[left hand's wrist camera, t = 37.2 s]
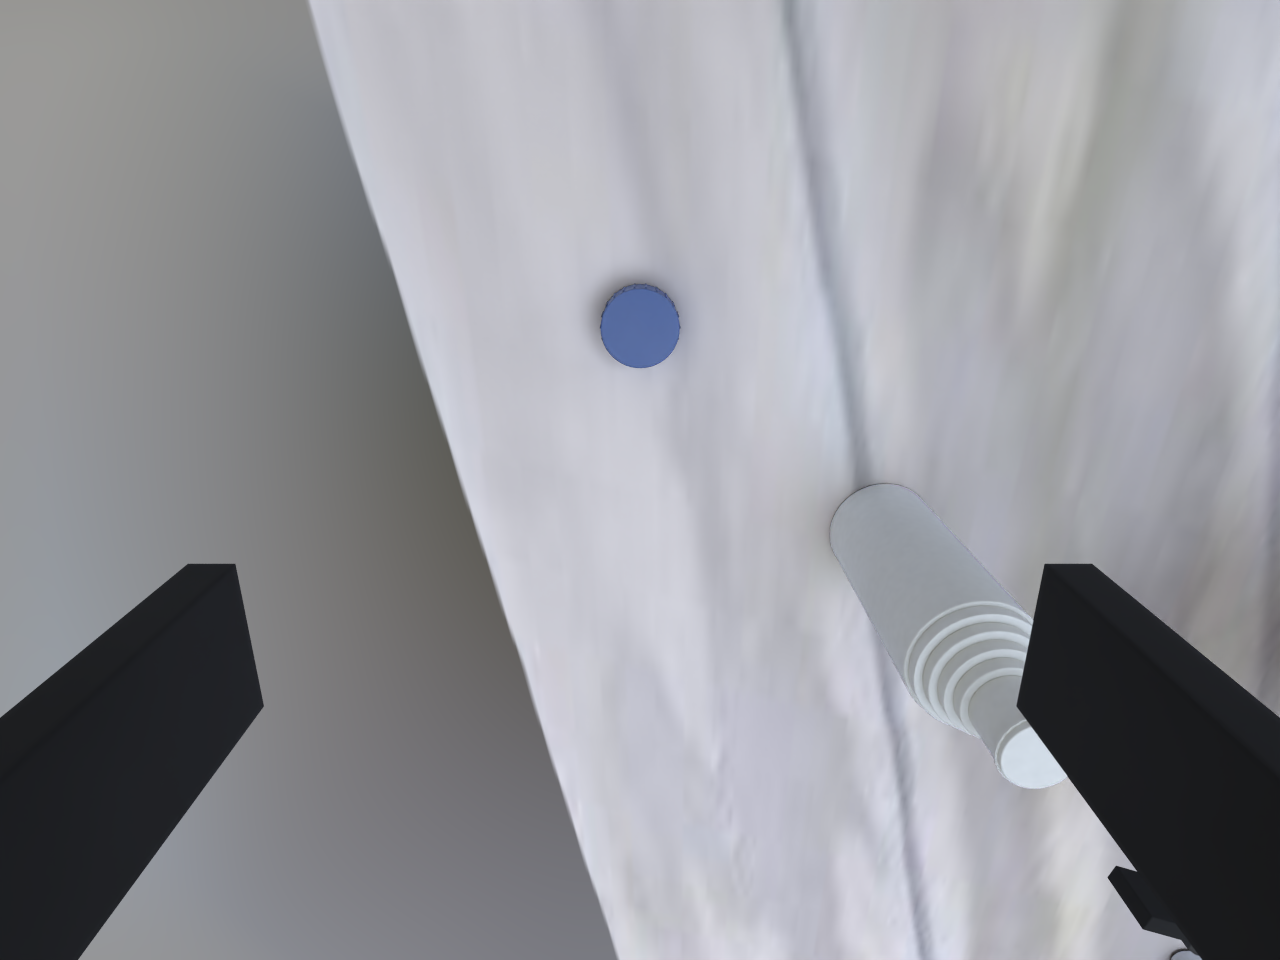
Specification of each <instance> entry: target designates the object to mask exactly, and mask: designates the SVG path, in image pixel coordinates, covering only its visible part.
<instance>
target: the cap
mask: <svg viewBox="0 0 1280 960" xmlns="http://www.w3.org/2000/svg"><path fill="white" fill-rule="evenodd" d="M601 317H602V321H601V325H600V328H601V336H602V340H603V343H604V345H605V347H606V349H607V350H608V352H609V353H610V354H611V355H612V357H613V358H615V359H616V360H617V361H619V362H620V363H622V364H624V365H626V366H630V367H634V368H646V367H651V366H654V365H656V364H658V363H660V362H662V361H663V360H665V359H666V358H667V357H668V356H669V355H670V354H671V352H672V351H673V350H674V348H675V346H676V344H677V341H678V339H679V338H678V337H679V330H680V325H679V319H678V317H679V315H678V312H676V309H675V306H674V303H673V301H671V300H670V298H669V297H668V296H667V294H666V293H664V292H662V291H661V290H659V289H657V287H656V288H655V287H653V286H650V285H647V284H636V285H635V284H634V285H631V286H628V287H623V289H621V290H620V291H618V292H617V293H614V295H613V296H612V298H611V299H610V300H609V302H608V301H607V304H606V308H605V310H604V311H603V313H602V316H601Z"/></svg>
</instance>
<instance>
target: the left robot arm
mask: <svg viewBox="0 0 1280 960" xmlns="http://www.w3.org/2000/svg"><path fill="white" fill-rule="evenodd" d="M263 707H264V705H263V700H262V695H261V690H260V685H259V680H258V675H257V670H256V665H255V660H254V655H253V650H252V645H251V640H250V635H249V630H248V625H247V620H246V615H245V610H244V605H243V600H242V595H241V590H240V585H239V580H238V575H237V570H236V565H235V564H187V565H186V566H185V567H184V568H182V569H181V570H180V571H179V572H178V573H176V574H175V575H174V576H173V577H171V578H170V579H169V580H168V581H167V582H165V583H164V584H163V585H162V586H161V587H159V588H158V589H157V590H156V591H154V592H153V593H152V594H151V595H150V596H148V597H147V598H146V599H145V600H143V601H142V602H141V603H140V604H139V605H137V606H136V607H135V608H134V609H132V610H131V611H130V612H129V613H128V614H126V615H125V616H124V617H123V618H121V619H120V620H119V621H118V622H117V623H115V624H114V625H113V626H112V627H110V628H109V629H108V630H107V631H106V632H104V633H103V634H102V635H101V636H99V637H98V638H97V639H96V640H95V641H93V642H92V643H91V644H90V645H89V646H87V647H86V648H85V649H84V650H82V651H81V652H80V653H79V654H78V655H76V656H75V657H74V658H73V659H71V660H70V661H69V662H68V663H67V664H65V665H64V666H63V667H62V668H60V669H59V670H58V671H57V672H56V673H54V674H53V675H52V676H51V677H50V678H48V679H47V680H46V681H45V682H43V683H42V684H41V685H40V686H39V687H37V688H36V689H35V690H34V691H32V692H31V693H30V694H29V695H28V696H26V697H25V698H24V699H23V700H21V701H20V702H19V703H18V704H17V705H15V706H14V707H13V708H12V709H11V710H9V711H8V712H7V713H6V714H4V715H3V716H2V717H1V718H0V960H78V959H79V958H80V956H81V955H82V953H83V952H84V951H85V949H86V948H87V947H88V945H89V944H90V942H91V941H92V940H93V938H94V937H95V936H96V934H97V933H98V932H99V930H100V929H101V927H102V926H103V925H104V923H105V922H106V921H107V919H108V918H109V917H110V915H111V914H112V913H113V911H114V910H115V908H116V907H117V906H118V904H119V903H120V902H121V900H122V899H123V897H124V896H125V895H126V893H127V892H128V891H129V889H130V888H131V887H132V885H133V884H134V883H135V881H136V880H137V878H138V877H139V876H140V874H141V873H142V872H143V870H144V869H145V867H146V866H147V865H148V863H149V862H150V861H151V859H152V858H153V857H154V855H155V854H156V853H157V851H158V850H159V848H160V847H161V846H162V844H163V843H164V842H165V840H166V839H167V838H168V836H169V835H170V833H171V832H172V831H173V829H174V828H175V827H176V825H177V824H178V823H179V821H180V820H181V818H182V817H183V816H184V814H185V813H186V812H187V810H188V809H189V808H190V806H191V805H192V803H193V802H194V801H195V799H196V798H197V797H198V795H199V794H200V792H201V791H202V790H203V788H204V787H205V786H206V784H207V783H208V782H209V780H210V779H211V778H212V776H213V775H214V773H215V772H216V771H217V769H218V768H219V767H220V765H221V764H222V763H223V761H224V760H225V758H226V757H227V756H228V754H229V753H230V752H231V750H232V749H233V748H234V746H235V745H236V743H237V742H238V741H239V739H240V738H241V737H242V735H243V734H244V733H245V731H246V730H247V728H248V727H249V726H250V724H251V723H252V722H253V720H254V719H255V718H256V716H257V715H258V713H259V712H260V711H261V709H262V708H263ZM1016 707H1017V708H1018V709H1019V711H1020V712H1021V713H1022V715H1023V716H1024V718H1025V719H1026V720H1027V722H1028V723H1029V724H1030V726H1031V727H1032V728H1033V730H1034V731H1035V733H1036V734H1037V735H1038V737H1039V738H1040V739H1041V741H1042V742H1043V743H1044V745H1045V746H1046V748H1047V749H1048V750H1049V752H1050V753H1051V754H1052V756H1053V757H1054V758H1055V760H1056V761H1057V763H1058V764H1059V765H1060V767H1061V768H1062V769H1063V771H1064V772H1065V773H1066V775H1067V776H1068V778H1069V779H1070V780H1071V782H1072V783H1073V784H1074V786H1075V787H1076V788H1077V790H1078V791H1079V793H1080V794H1081V795H1082V797H1083V798H1084V799H1085V801H1086V802H1087V803H1088V805H1089V806H1090V808H1091V809H1092V810H1093V812H1094V813H1095V814H1096V816H1097V817H1098V818H1099V820H1100V821H1101V823H1102V824H1103V825H1104V827H1105V828H1106V829H1107V831H1108V832H1109V833H1110V835H1111V836H1112V838H1113V839H1114V840H1115V842H1116V843H1117V844H1118V846H1119V847H1120V848H1121V850H1122V851H1123V853H1124V854H1125V855H1126V857H1127V858H1128V859H1129V861H1130V862H1131V863H1132V865H1133V866H1134V868H1135V869H1136V870H1137V872H1138V873H1139V874H1140V876H1141V877H1142V878H1143V880H1144V881H1145V883H1146V884H1147V885H1148V887H1149V888H1150V889H1151V891H1152V892H1153V893H1154V895H1155V896H1156V898H1157V899H1158V900H1159V902H1160V903H1161V904H1162V906H1163V907H1164V908H1165V910H1166V911H1167V913H1168V914H1169V915H1170V917H1171V918H1172V919H1173V921H1174V922H1175V923H1176V925H1177V926H1178V928H1179V929H1180V930H1181V932H1182V933H1183V934H1184V936H1185V937H1186V938H1187V940H1188V941H1189V943H1190V944H1191V945H1192V947H1193V948H1194V949H1195V951H1196V952H1197V953H1198V955H1199V956H1200V958H1201V959H1202V960H1280V718H1279V717H1278V716H1277V715H1276V714H1274V713H1273V712H1272V711H1271V710H1270V709H1268V708H1267V707H1266V706H1265V705H1263V704H1262V703H1261V702H1260V701H1259V700H1257V699H1256V698H1255V697H1254V696H1252V695H1251V694H1250V693H1249V692H1248V691H1246V690H1245V689H1244V688H1243V687H1241V686H1240V685H1239V684H1238V683H1237V682H1235V681H1234V680H1233V679H1232V678H1231V677H1229V676H1228V675H1227V674H1226V673H1224V672H1223V671H1222V670H1221V669H1220V668H1218V667H1217V666H1216V665H1215V664H1213V663H1212V662H1211V661H1210V660H1209V659H1207V658H1206V657H1205V656H1204V655H1202V654H1201V653H1200V652H1199V651H1198V650H1196V649H1195V648H1194V647H1193V646H1191V645H1190V644H1189V643H1188V642H1187V641H1185V640H1184V639H1183V638H1182V637H1181V636H1179V635H1178V634H1177V633H1176V632H1174V631H1173V630H1172V629H1171V628H1170V627H1168V626H1167V625H1166V624H1165V623H1163V622H1162V621H1161V620H1160V619H1159V618H1157V617H1156V616H1155V615H1154V614H1152V613H1151V612H1150V611H1149V610H1148V609H1146V608H1145V607H1144V606H1143V605H1141V604H1140V603H1139V602H1138V601H1137V600H1135V599H1134V598H1133V597H1132V596H1131V595H1129V594H1128V593H1127V592H1126V591H1124V590H1123V589H1122V588H1121V587H1120V586H1118V585H1117V584H1116V583H1115V582H1113V581H1112V580H1111V579H1110V578H1109V577H1107V576H1106V575H1105V574H1104V573H1102V572H1101V571H1100V570H1099V569H1098V568H1096V567H1095V566H1094V565H1093V564H1045V565H1044V570H1043V575H1042V580H1041V585H1040V590H1039V595H1038V600H1037V605H1036V610H1035V615H1034V620H1033V625H1032V630H1031V635H1030V640H1029V645H1028V650H1027V655H1026V660H1025V665H1024V670H1023V675H1022V680H1021V685H1020V690H1019V695H1018V700H1017V705H1016Z"/></svg>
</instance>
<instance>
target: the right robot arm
mask: <svg viewBox="0 0 1280 960" xmlns="http://www.w3.org/2000/svg"><path fill="white" fill-rule="evenodd" d="M1108 879H1109V880H1110V882H1111V883H1112V885H1113V886H1114V888H1115V889H1116V891H1117V892H1118V894H1119V895H1120V896H1121V898H1122V899H1123V901H1124V902H1125V904H1126V905H1127V907H1128V908H1129V910H1130V911H1131V913H1132V914H1133V915H1134V917H1135V918H1136V920H1137V921H1138V923H1139V924H1140V926H1141V927H1142V929H1144V930H1148V931H1151V932H1155V933H1158V934H1162V935H1166V936H1169V937H1173V938H1176V939H1180V940H1182V942H1183V943H1184V944H1185V946H1186V947H1187V948H1188V949H1189V950H1190V951H1191V952H1192V953H1193V954H1195V955H1198V953H1197V952H1196V951H1195V949H1194V948H1193V947H1192V945H1191V944H1190V943H1189V941H1188V940H1187V938H1186V937H1185V936H1184V934H1183V933H1182V932H1181V930H1180V929H1179V928H1178V926H1177V925H1176V923H1175V922H1174V921H1173V919H1172V918H1171V917H1170V915H1169V914H1168V913H1167V911H1166V910H1165V908H1164V907H1163V906H1162V904H1161V903H1160V902H1159V900H1158V899H1157V898H1156V896H1155V895H1154V893H1153V892H1152V891H1151V889H1150V888H1149V887H1148V885H1147V884H1146V883H1145V881H1144V880H1143V878H1142V877H1141V876H1140V874H1139V873H1138V872H1136V871H1133V870H1129V869H1126V868H1122V867H1119V866H1116V867H1115V868H1114V869H1113V871H1112V872H1111V873H1110V875H1109V876H1108ZM1198 956H1199V955H1198Z"/></svg>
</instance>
